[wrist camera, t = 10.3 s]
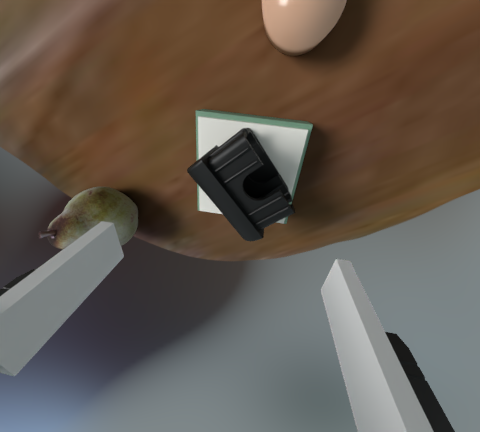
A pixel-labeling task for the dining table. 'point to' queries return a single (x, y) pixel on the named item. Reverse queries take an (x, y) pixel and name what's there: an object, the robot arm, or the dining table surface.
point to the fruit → (93, 216)
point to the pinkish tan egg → (299, 23)
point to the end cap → (243, 184)
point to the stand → (269, 135)
